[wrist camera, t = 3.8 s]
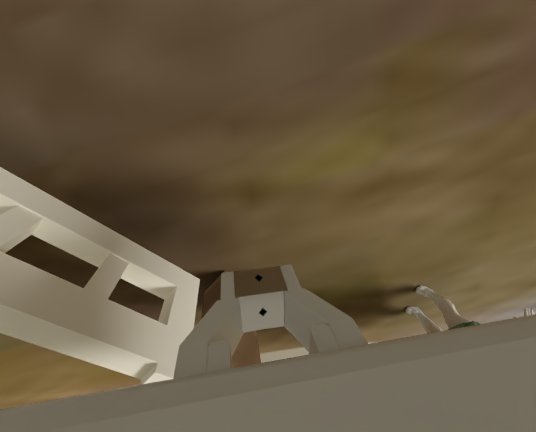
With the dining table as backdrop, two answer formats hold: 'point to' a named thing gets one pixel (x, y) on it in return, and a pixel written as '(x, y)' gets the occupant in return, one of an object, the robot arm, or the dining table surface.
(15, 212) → the gate
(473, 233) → the dining table surface
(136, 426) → the robot arm
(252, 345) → the fence post
